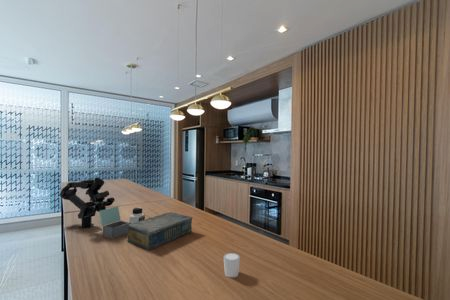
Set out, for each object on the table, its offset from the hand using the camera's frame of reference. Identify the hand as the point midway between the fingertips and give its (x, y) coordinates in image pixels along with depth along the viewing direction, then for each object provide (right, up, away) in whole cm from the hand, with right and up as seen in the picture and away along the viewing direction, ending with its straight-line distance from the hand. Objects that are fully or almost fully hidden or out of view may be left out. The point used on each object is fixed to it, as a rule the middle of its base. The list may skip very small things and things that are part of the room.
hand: (105, 214), depth 136 cm
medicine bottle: (+16, -11, +10) cm, 22 cm away
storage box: (+10, -10, -5) cm, 16 cm away
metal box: (+38, -11, -8) cm, 41 cm away
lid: (+5, 0, -2) cm, 5 cm away
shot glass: (+79, -11, -47) cm, 92 cm away
